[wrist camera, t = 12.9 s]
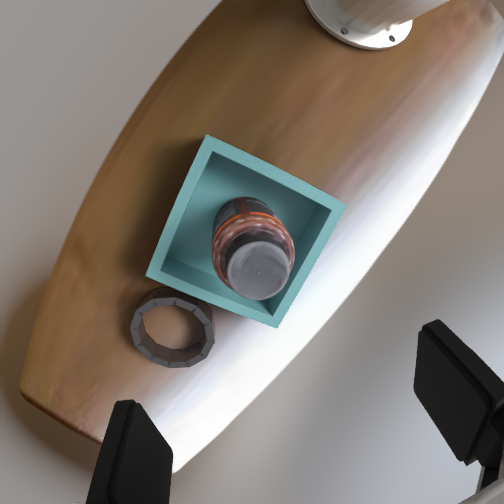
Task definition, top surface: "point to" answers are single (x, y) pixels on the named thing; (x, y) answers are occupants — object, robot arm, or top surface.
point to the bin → (202, 218)
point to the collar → (164, 354)
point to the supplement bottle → (251, 249)
